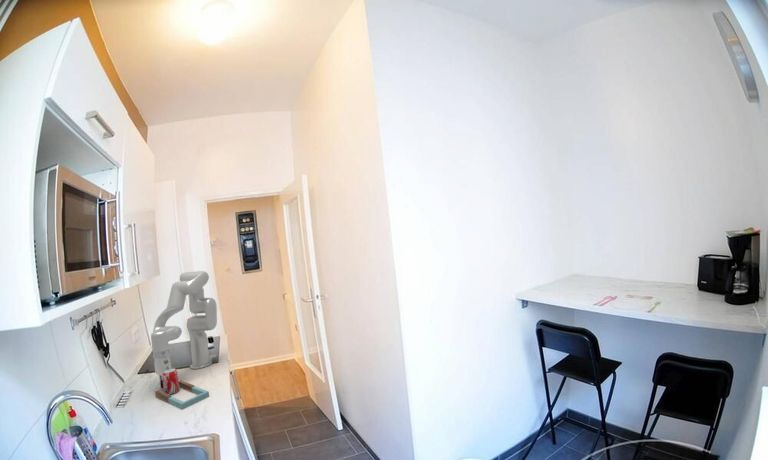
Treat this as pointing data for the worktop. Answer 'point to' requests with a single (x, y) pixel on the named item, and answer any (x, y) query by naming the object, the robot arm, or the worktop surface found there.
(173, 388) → the soda can
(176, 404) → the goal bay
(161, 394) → the channel
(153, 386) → the worktop surface
